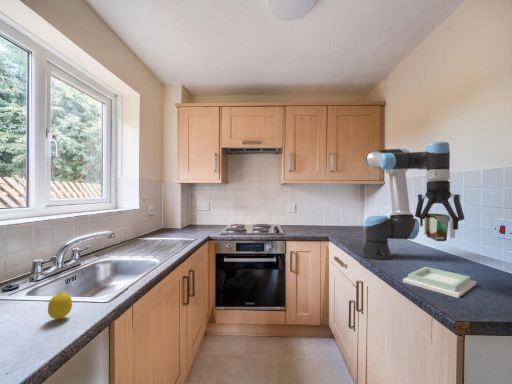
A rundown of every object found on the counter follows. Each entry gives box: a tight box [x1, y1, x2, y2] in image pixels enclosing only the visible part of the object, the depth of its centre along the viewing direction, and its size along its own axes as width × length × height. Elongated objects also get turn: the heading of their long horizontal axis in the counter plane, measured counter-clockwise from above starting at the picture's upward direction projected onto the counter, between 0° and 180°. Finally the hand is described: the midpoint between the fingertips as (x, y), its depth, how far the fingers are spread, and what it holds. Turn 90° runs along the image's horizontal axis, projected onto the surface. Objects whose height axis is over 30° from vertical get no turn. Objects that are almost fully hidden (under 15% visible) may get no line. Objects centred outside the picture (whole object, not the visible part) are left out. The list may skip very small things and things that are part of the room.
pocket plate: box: [402, 266, 477, 299], centre depth 96 cm, size 18×21×3 cm
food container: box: [425, 212, 452, 242], centre depth 95 cm, size 12×6×10 cm, turn 163°
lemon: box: [47, 292, 73, 321], centre depth 69 cm, size 6×6×8 cm
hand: (438, 236), depth 96 cm, fingers closed on food container, 9 cm apart
